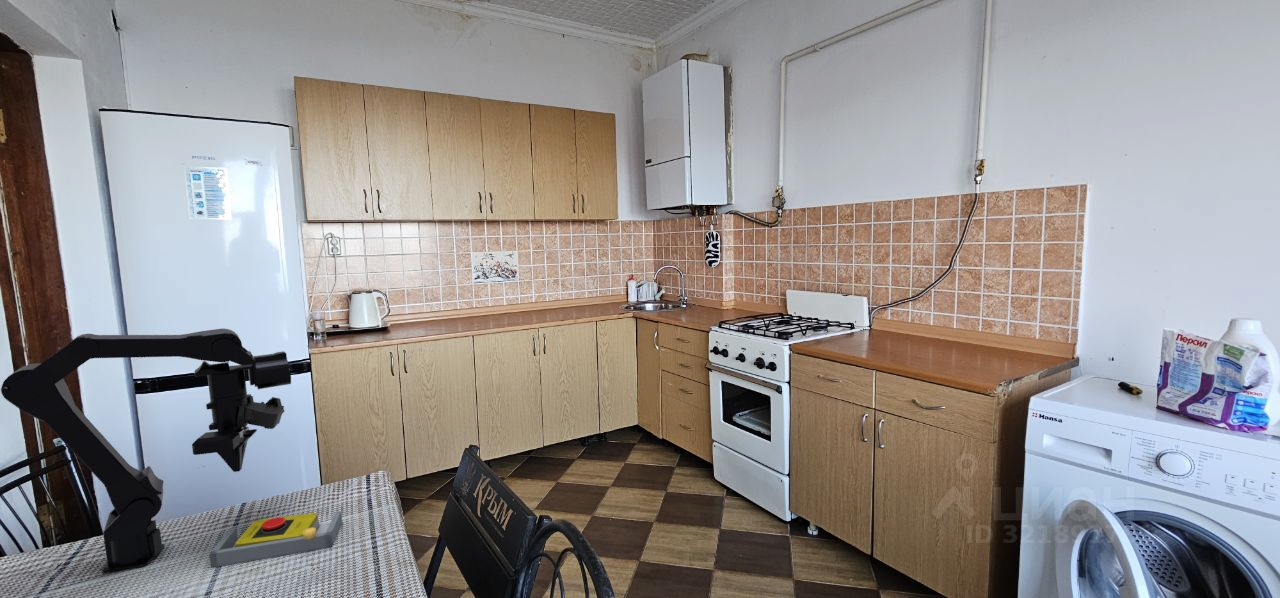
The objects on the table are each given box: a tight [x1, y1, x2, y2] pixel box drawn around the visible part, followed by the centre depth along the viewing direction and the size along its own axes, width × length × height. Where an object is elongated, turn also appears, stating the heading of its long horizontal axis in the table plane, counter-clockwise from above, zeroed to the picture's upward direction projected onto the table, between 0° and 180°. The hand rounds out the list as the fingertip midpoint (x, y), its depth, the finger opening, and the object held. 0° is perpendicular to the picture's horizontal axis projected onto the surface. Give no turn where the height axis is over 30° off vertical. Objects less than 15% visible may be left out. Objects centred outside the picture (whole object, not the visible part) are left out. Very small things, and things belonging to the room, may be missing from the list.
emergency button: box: [234, 512, 331, 547], centre depth 104 cm, size 9×4×15 cm
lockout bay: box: [208, 510, 343, 568], centre depth 103 cm, size 19×10×4 cm, turn 107°
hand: (237, 470), depth 108 cm, fingers closed
